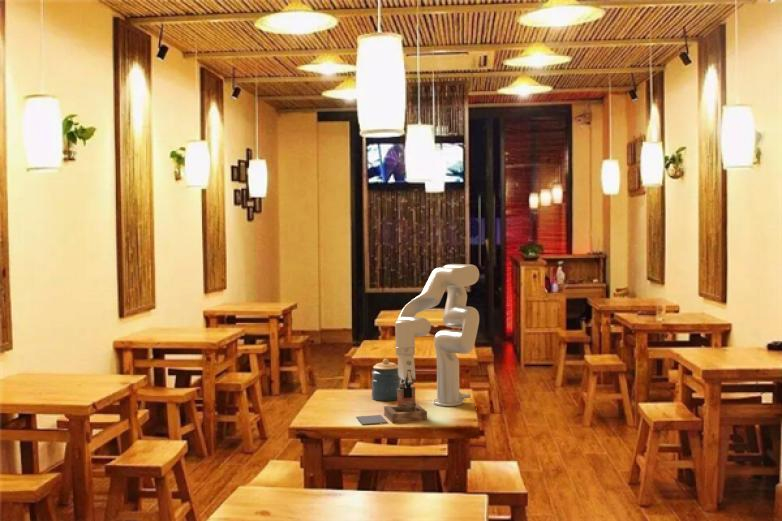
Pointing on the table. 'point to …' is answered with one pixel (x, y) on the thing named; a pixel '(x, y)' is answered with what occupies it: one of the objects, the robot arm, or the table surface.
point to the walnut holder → (405, 414)
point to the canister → (385, 381)
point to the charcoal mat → (371, 419)
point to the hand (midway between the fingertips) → (406, 395)
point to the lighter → (405, 401)
